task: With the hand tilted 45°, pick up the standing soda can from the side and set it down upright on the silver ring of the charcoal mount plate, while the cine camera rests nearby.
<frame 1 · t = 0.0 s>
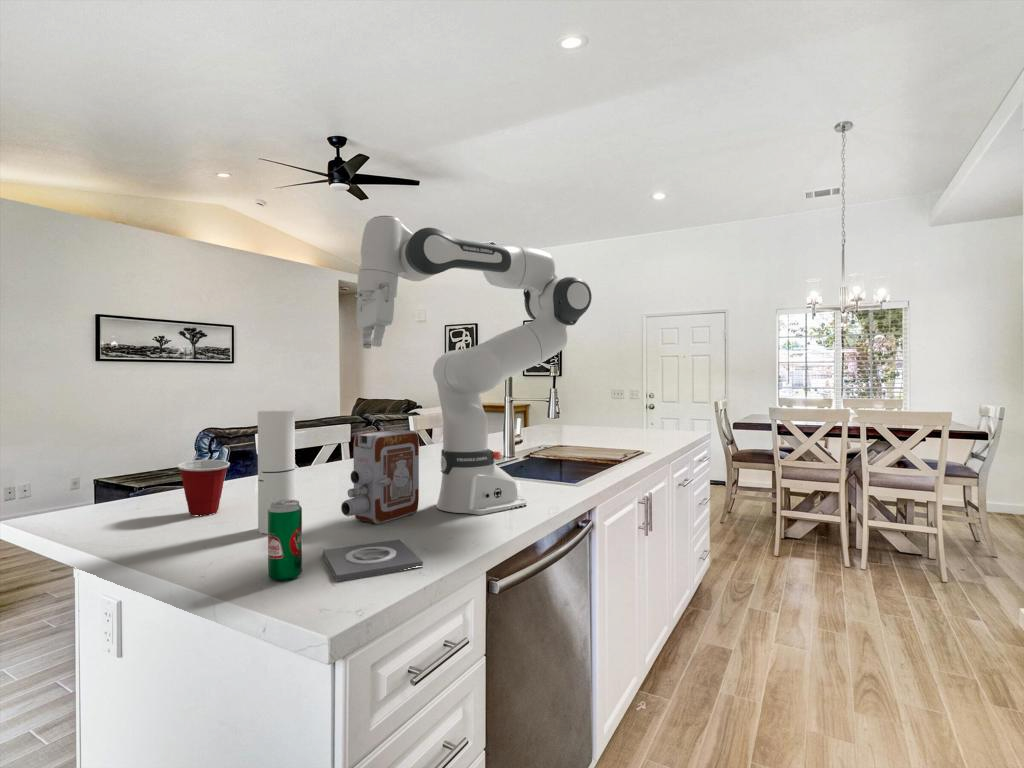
hand: (371, 347, 123), 39 cm above the table, tool pointing down, fingers open, 8 cm apart
soda can: (285, 578, 87), on the table
plastic cup: (204, 514, 127), on the table
mount plate: (371, 561, 94), on the table
cylindrical container: (276, 530, 114), on the table
cine camera: (378, 520, 122), on the table
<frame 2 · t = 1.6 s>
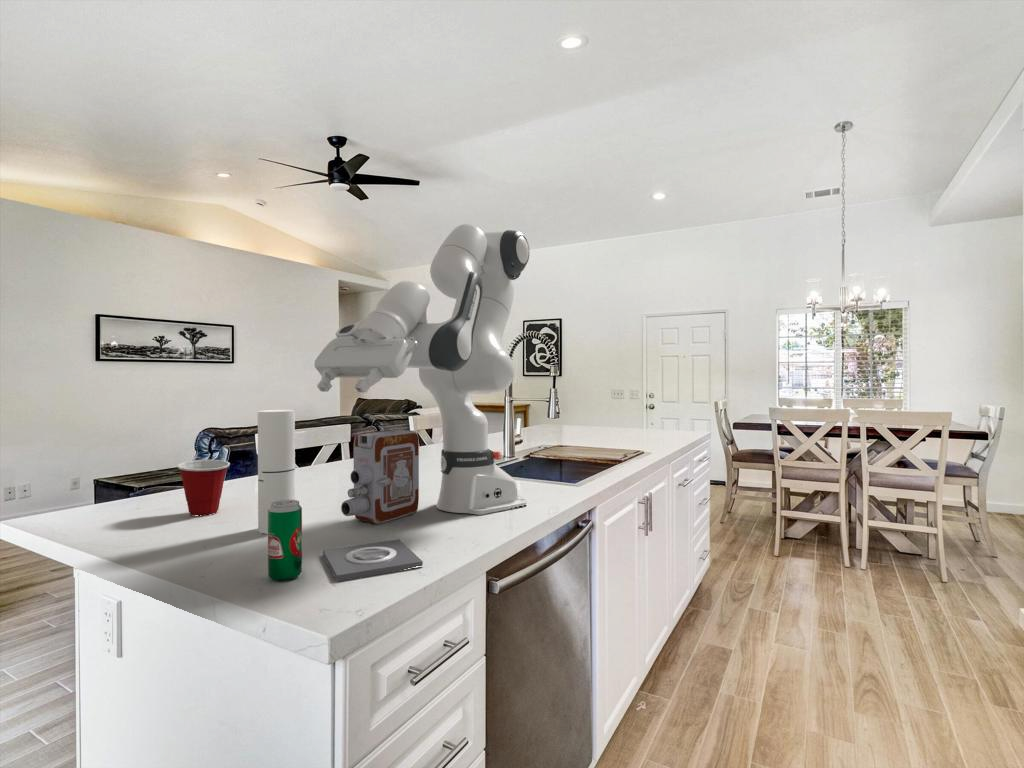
hand: (340, 389, 98), 30 cm above the table, tool tilted 45°, fingers open, 8 cm apart
nothing on the table moved.
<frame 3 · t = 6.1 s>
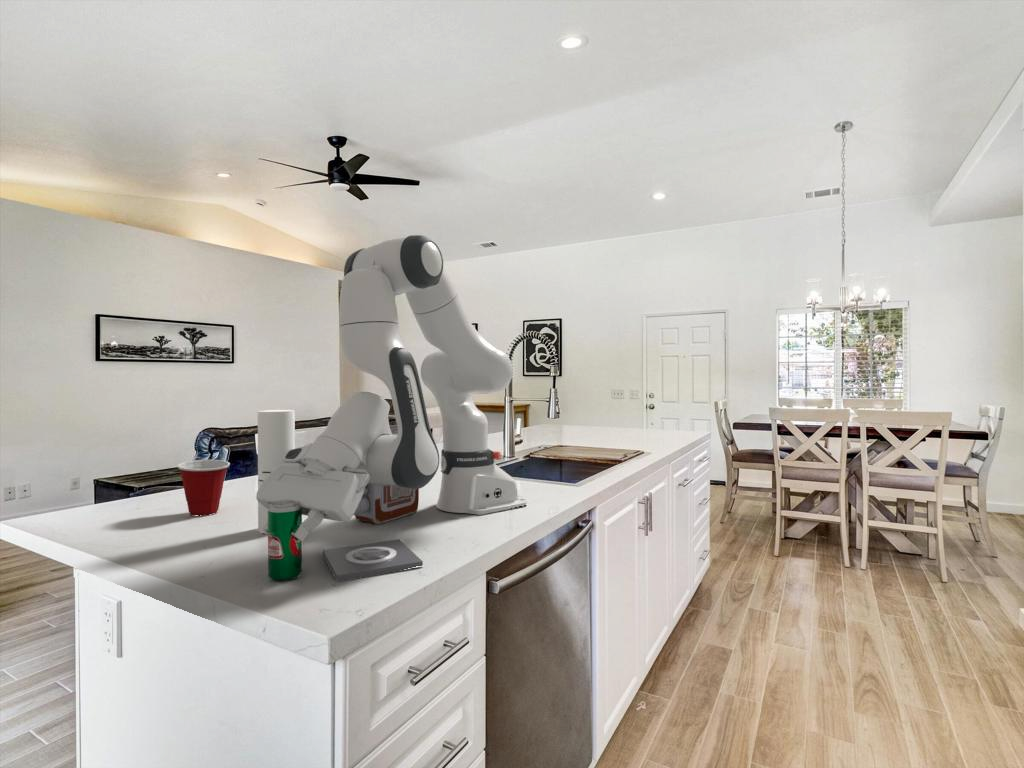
hand: (281, 535, 86), 7 cm above the table, tool tilted 45°, fingers closed on soda can, 5 cm apart
soda can: (285, 578, 87), on the table, touching gripper
everything else where it was.
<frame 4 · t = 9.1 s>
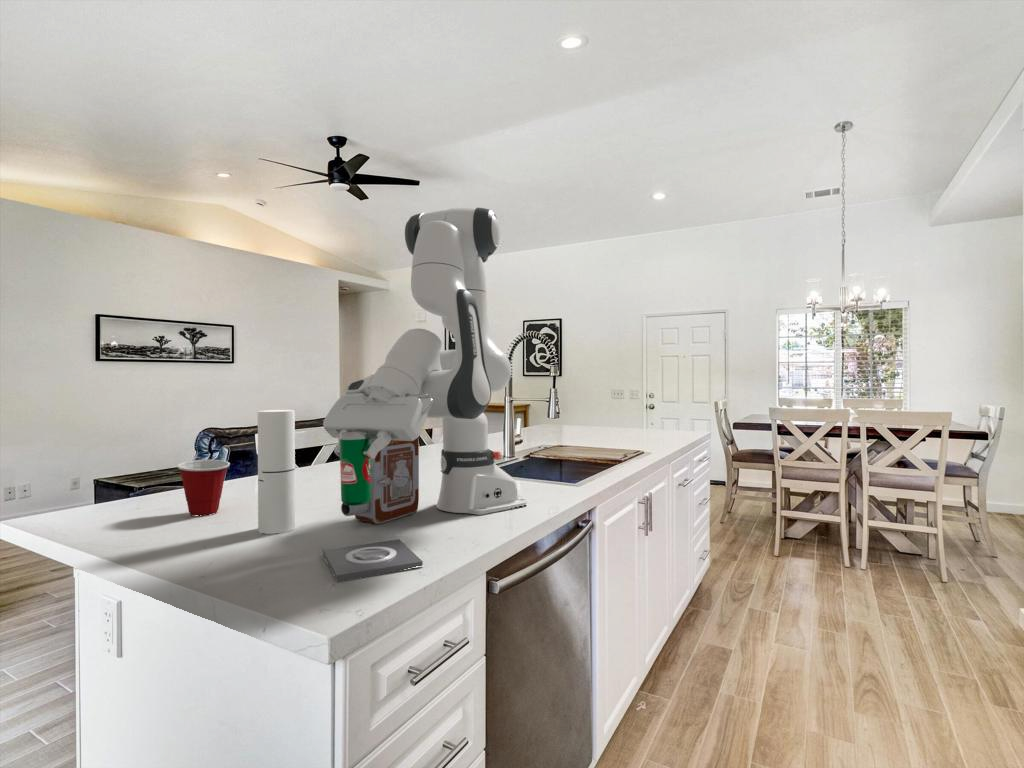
hand: (353, 455, 91), 19 cm above the table, tool tilted 45°, fingers closed on soda can, 5 cm apart
soda can: (357, 503, 92), point 11 cm above the table, touching gripper
everything else where it was.
when the fingers open (9 cm above the table, at t = 12.0 s): soda can stays where it is, resting on mount plate.
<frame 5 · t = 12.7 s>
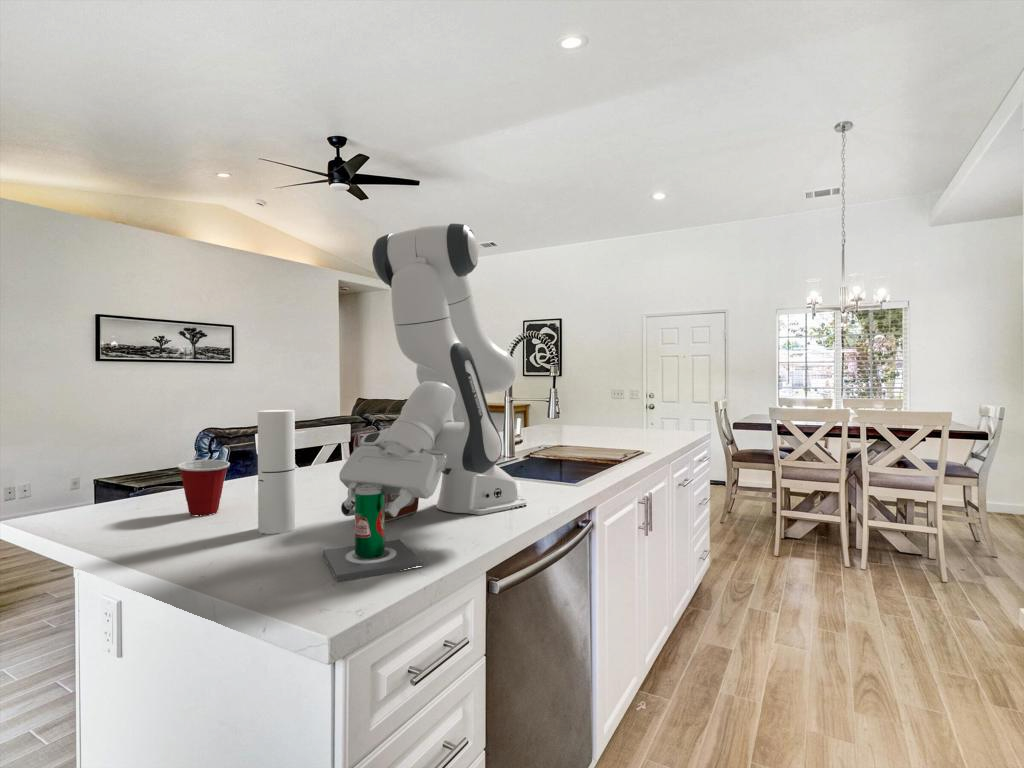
hand: (368, 511, 94), 9 cm above the table, tool tilted 45°, fingers open, 8 cm apart
soda can: (369, 556, 94), point 1 cm above the table, touching mount plate
everything else where it was.
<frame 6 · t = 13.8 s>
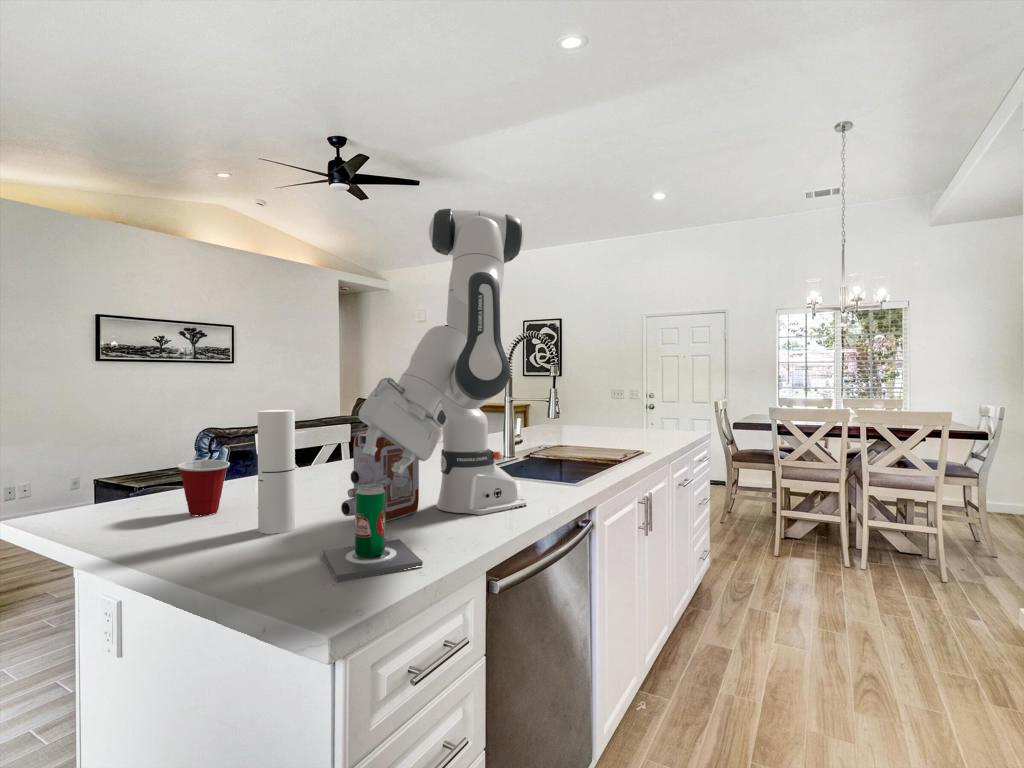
hand: (382, 464, 100), 16 cm above the table, tool tilted 30°, fingers open, 8 cm apart
nothing on the table moved.
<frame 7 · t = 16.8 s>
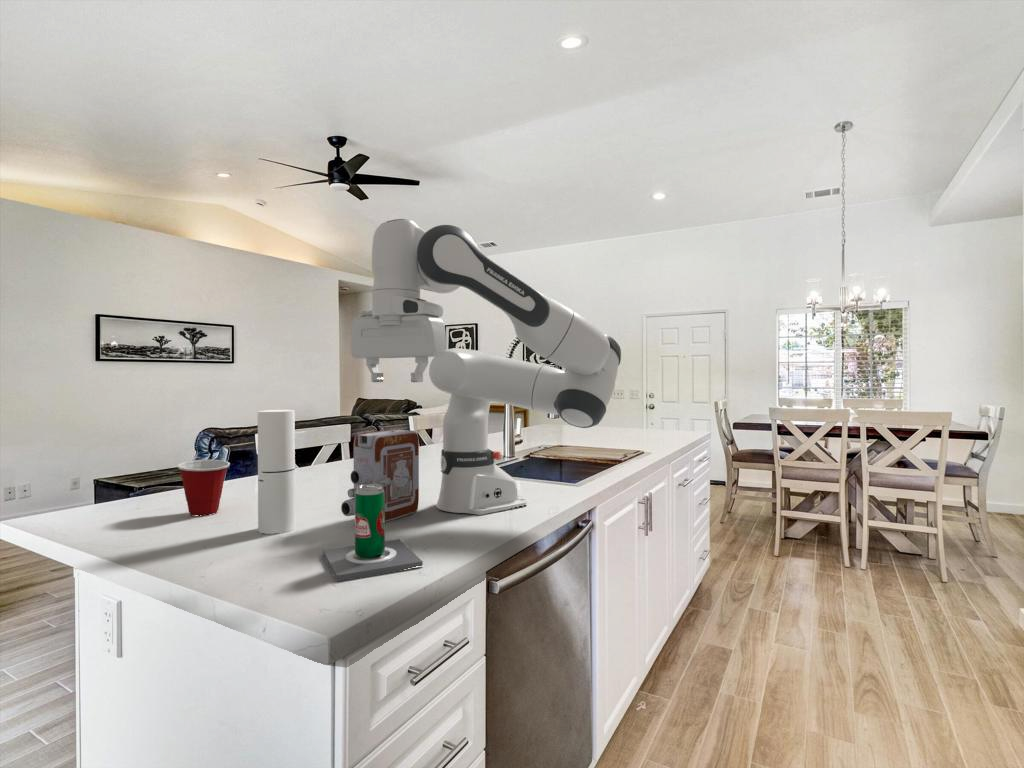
hand: (396, 382, 101), 31 cm above the table, tool pointing down, fingers open, 8 cm apart
nothing on the table moved.
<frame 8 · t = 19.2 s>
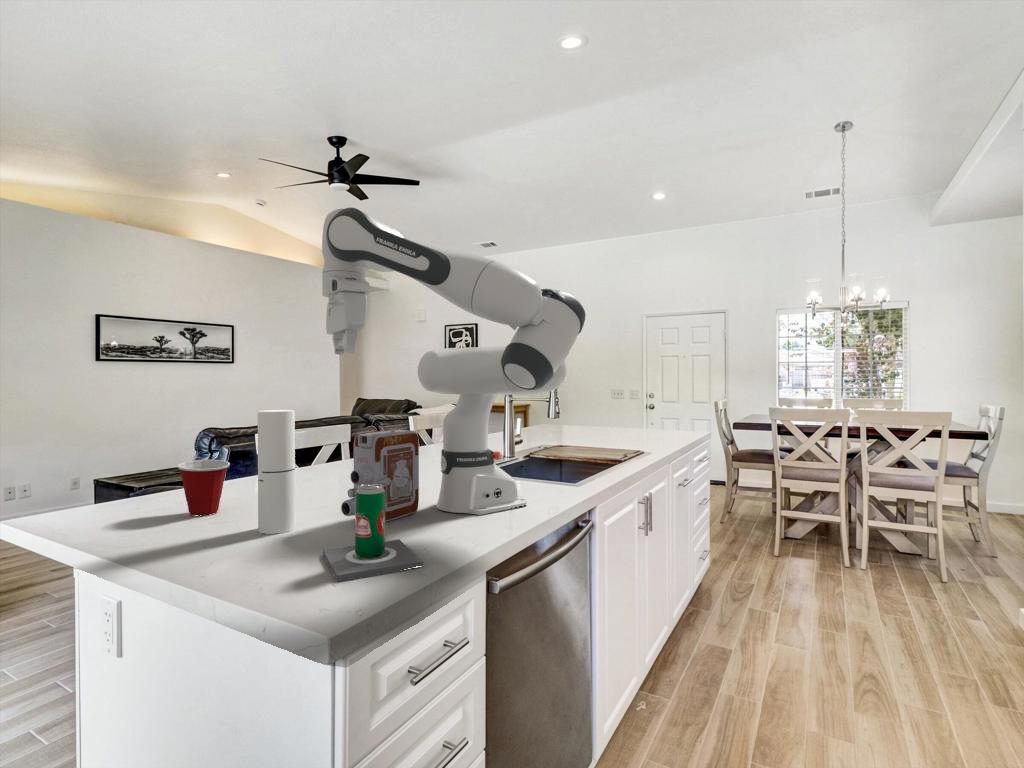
hand: (344, 353, 115), 37 cm above the table, tool pointing down, fingers open, 8 cm apart
nothing on the table moved.
at the end: soda can 0.3 cm from the mount plate (horizontally); soda can tilted 1°; soda can point 1.0 cm above the table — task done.
